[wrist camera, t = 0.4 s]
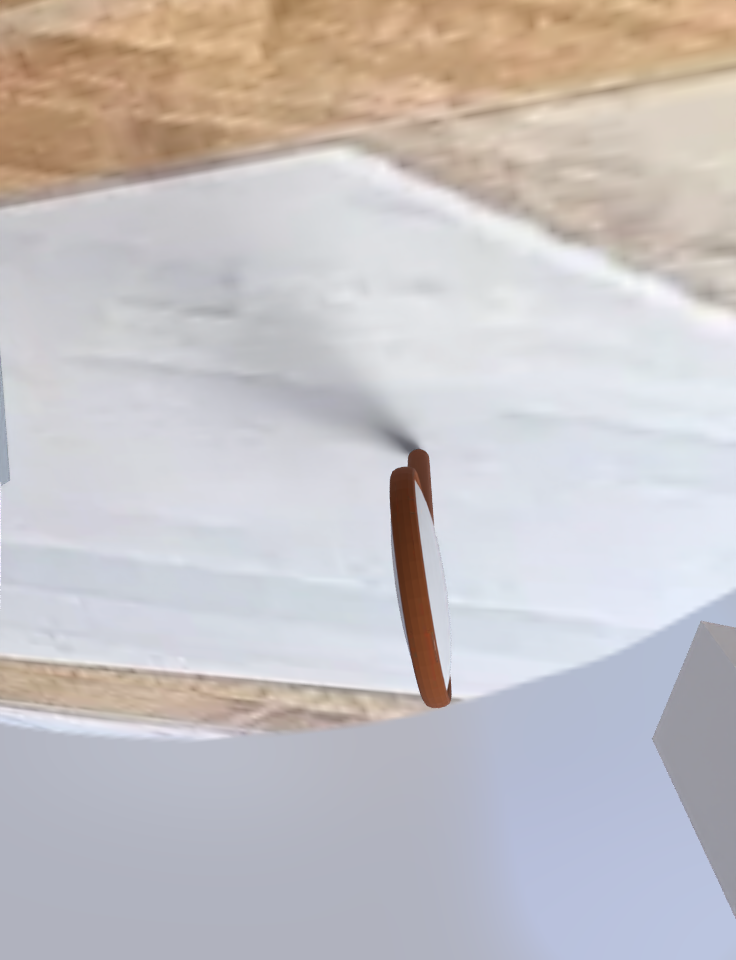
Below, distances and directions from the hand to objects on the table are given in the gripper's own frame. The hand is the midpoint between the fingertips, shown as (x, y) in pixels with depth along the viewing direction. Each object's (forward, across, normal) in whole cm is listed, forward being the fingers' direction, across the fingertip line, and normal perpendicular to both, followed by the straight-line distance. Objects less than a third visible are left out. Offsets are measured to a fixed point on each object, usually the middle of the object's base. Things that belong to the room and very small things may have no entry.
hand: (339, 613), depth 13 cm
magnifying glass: (+27, +3, -5) cm, 28 cm away
